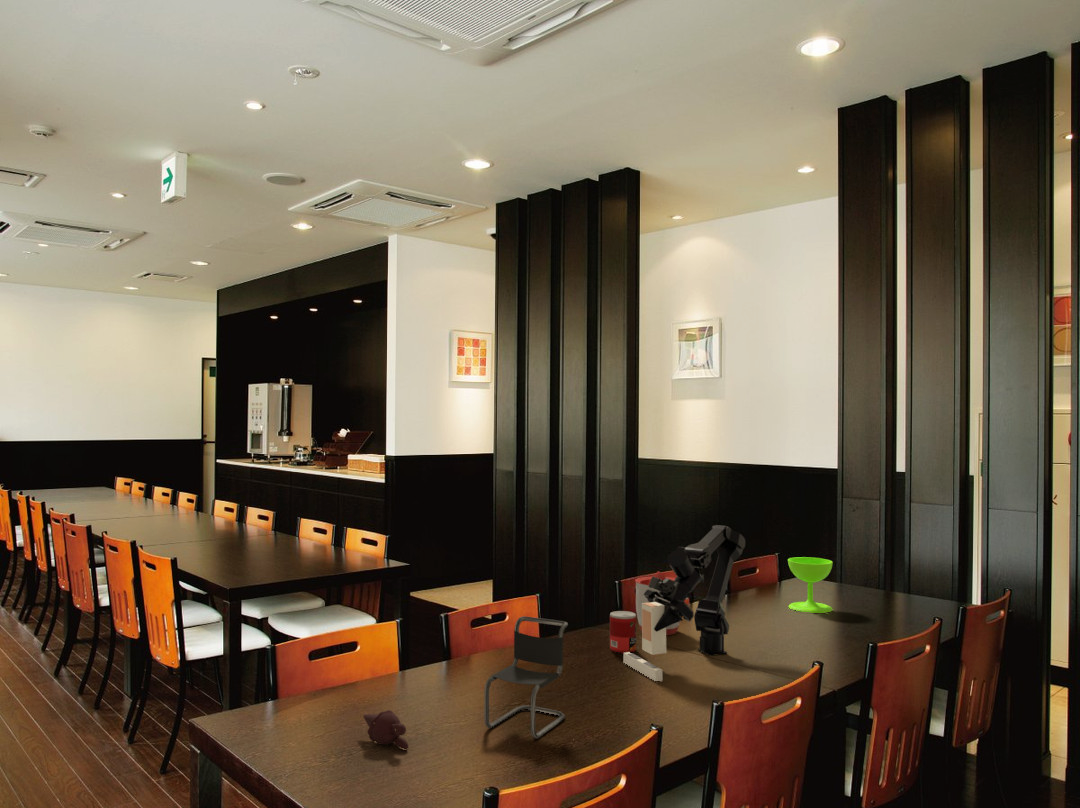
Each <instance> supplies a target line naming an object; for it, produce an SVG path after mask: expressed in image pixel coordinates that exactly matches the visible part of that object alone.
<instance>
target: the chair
mask: <svg viewBox="0 0 1080 808" xmlns="http://www.w3.org/2000/svg"><path fill="white" fill-rule="evenodd" d="M522 622H530V623H537V624H544V625H552V626H559V627H560V628H559V630H558V637H540V636H534V635H529V634H526V633H522V632H520V626H521V623H522ZM568 626H569V624H568V622H567V621H563V620H557V619H556V620H555V619H549V618H548V619H547V618H540V617H533V616H526V615H525V616H520V617H518V618H517V620H516V621H515V624H514V629H513V662H512V663H511V664H510V665H509V666H507V667H505V668H503V669H502V670H499V671H498V672H496V673H494V674H492V675H490V676H489V677H488V679H486V682H485V685H484V692H483V693H484V694H483V695H484V696H483V697H484V698H483V699H484V704H483V705H484V708H483V709H484V711H483V714H484V715H483V716H484V717H483V719H484V720H483V721H484V725H485V727H487V729H493V728H495V727H496V726H498V725H499V724H501V723H503V722H504V721H506V720H507V719H509V718H510V716H511V715H512V716H514V715H515V714H517V713H518V711H519V712H521V711H520V710H522V711H524V710H523V709H528V710H527V711H530V718H529V719H530V723H529V725H530V727H529V728H530V734H531V736H532V738H534V739H539V738H541V737H542V736H544V735H546V733H548V732H549V731H550V730H552V729H553V728H554V727H556V726H557V725H558V724H560V723H561V722H563V721H565V718H566V716H565V714H564V713H563V712H562V711H559V710H555V709H550V708H546V707H545V708H544V707H540V706H536V699H537V693H538V691H539V690H541V689H542V688H544V687H545V686H547V685H549V684H550V683H552V682H554V681H555V680H557V679H558V678H560V676H561V674H562V671H563V668H564V632H565V629H566V628H567V627H568ZM519 660H520V661H524V662H528V663H532V664H533V663H534V664H539V665H544V666H557V669H556V672H540V671H534V670H530V669H525V668H521V667H518V666H517V665H518V663H519ZM495 680H502V681H504V682H508V683H514V684H520V685H529V686H530V685H534V687H533V688H532V690H531V693H530V705H528V704H527V705H526V704H525V705H524V704H523V705H520V706H519V705H518V706H517V707H515V708H513V709H512V710H510V711H508V712H506V713H505V714H503V715H501V716H500V717H498V718H496V719H495V720H494V721H492V722H491V721H490V689H491V688H490V687H491V684H492V682H494V681H495ZM536 711H540V712H539V713H541V712H544V713H543V714H546V713H549V714H548V715H551V714H554V715H553V716H556V715H558V716H557V718H556V719H555V720H553V721H552V722H550V723H548V725H546V726H544V727H543V728H542V729H540V730H539V731H537V732H536ZM516 712H517V713H516ZM513 714H514V715H513ZM512 716H511V717H512ZM508 717H509V718H508ZM505 719H506V720H505ZM503 720H504V721H503ZM502 721H503V722H502ZM500 722H501V723H500ZM497 724H498V725H497ZM495 725H496V726H495ZM494 726H495V727H494ZM492 727H493V728H492Z"/></svg>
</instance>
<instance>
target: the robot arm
mask: <svg viewBox="0 0 1080 808" xmlns="http://www.w3.org/2000/svg"><path fill="white" fill-rule="evenodd" d="M745 547H746V538H745V537H744V536H743V535H742V533H740V532H738V531H735V529H734V530H733V529H732V528H731V527H729V526H727V525H718V524H715V525H712V527H711V530H710V531H708V533H707V534H705V536H704V537H702V538H701V540H700V541H698V542H696V543H691V544H688V545H687V546H686V547H684V546H677V549H675V550H673V551H671V553H670V554H668V556H667V559H666V561H667V563H668V565H669V567H670V568H671V570H672V572H673V573H674V574H675V576H676V577H674V578H675V580H674V581H673V580H670V579H668V578H666V579H664V580H661V579H659V578H656V577H653V576H654V575H652V578H651V581H650V584H649V586H648V587H650V588H653V589H656V590H658V591H659V592H657V591H655V590H652V589H647V590H646V592H645V593H644V594H643V595H644V596H645V597H646V598H647V600H648V601H649V603H650V602H657V603H660V604H662V605H665V608H664V613H663V615H662V617H661V618H660V620H659V621H658V623H657V624H656V626H655V628H654V630H655V631H656V632H657V631H659V630H661V629H663V628H665V627H668V626H670V625H672V624H674V623H677V622H679V621H680V622H683V621H688V623H689V622H691V621H692V620H693V619H694V626H695V631H696V632H700V636H699V648H698V647H697V651H698V650H699V652H700V651H702V652H701V653H703V652H704V653H703V654H705V653H706V654H705V655H707V654H708V655H707V656H710V655H711V656H715V655H714V654H719V655H723V654H724V653H727V654H728V651H726V650H725V635H729V630H730V624H729V622H728V621H727V618H726V617H725V616H726V611H725V609H724V605H723V601H724V599H725V594H726V592H727V591H726V590H727V587H728V584H729V581H730V577H731V572H732V569H733V566H734V562H735V561H736V560H737V559H739V558H740V557H742V556H741V555H742V554H743V551H744V549H745ZM715 551H716V552H717V554H718V556H717V560H716V563H715V568H714V571H713V575H712V578H711V581H710V585H709V588H708V592H707V596H706V597H705V598H700V599H698V603H697V607H696V609H695V612H694V611H693V609H692V608H691V607H690V606H689V605H688V604H687V603H686V602H685V601H686V600H687V599H686V598H688V599H689V600H690V599H691V598H692V597H693V596H692V594H691V593H692V592H693V590H694V589H695V587H696V586H698V584H699V583H700V584H704V582H705V579H704V576H705V574H704V573H703V572H701V571H700V570H699V569H706V568H707V567H708V566H709V565H710V563H711V562H712V554H713V553H714V552H715ZM661 595H662V596H663V597H662V596H661ZM724 655H725V654H724Z"/></svg>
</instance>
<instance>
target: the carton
mask: <svg viewBox="0 0 1080 808" xmlns="http://www.w3.org/2000/svg"><path fill="white" fill-rule="evenodd" d="M664 608H665V605H662V604H660V603H657V602H650V603H642V631H641V644H642V645H641V650H642V651H644V652H646V653H648V654H650V655H653V656H654V655H661V654H667V636H666V627H665V628H663V629H661V630H659V631H657V632H656V631H655V630H654V628H655V626H656V624H657V623H658V621H659V620H660V618H661V617H662V615H663V613H664Z"/></svg>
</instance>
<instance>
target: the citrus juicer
mask: <svg viewBox="0 0 1080 808" xmlns="http://www.w3.org/2000/svg"><path fill="white" fill-rule="evenodd" d="M652 576H653V577H656V578H659V579H661V580H664V579H666V578H668V579H670V580H673V581H674V580H675V578H676V577H670V576H665V575H664V574H663V573H662V572H660V571H659V570H658V571H657V572H656V573H654V574H653V575H652ZM652 576H642V577H638V578H636V579H635V581H634V582H635V612H636V619H637V621H638V626H639V629H640V631H641V632H642V603H649V601H648V600H647V598H646V597H645V596H644V595H643V594H644V593H645V592H646V590H647V589H652V590H655V591H657V592H659V591H658V590H656V589H653V588H650V587H648V586H649V584H650V581H651V578H652ZM661 596H662V595H661ZM662 597H663V596H662ZM688 599H689V598H686V599H685V600H688ZM680 622H681V621H679V622H677V623H674V624H672V625H670V626H668V627H666V635H670V636H671V635H675V634H677V631H678V630H679V627H680Z"/></svg>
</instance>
